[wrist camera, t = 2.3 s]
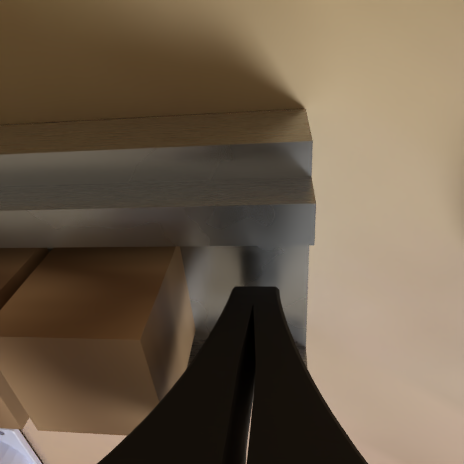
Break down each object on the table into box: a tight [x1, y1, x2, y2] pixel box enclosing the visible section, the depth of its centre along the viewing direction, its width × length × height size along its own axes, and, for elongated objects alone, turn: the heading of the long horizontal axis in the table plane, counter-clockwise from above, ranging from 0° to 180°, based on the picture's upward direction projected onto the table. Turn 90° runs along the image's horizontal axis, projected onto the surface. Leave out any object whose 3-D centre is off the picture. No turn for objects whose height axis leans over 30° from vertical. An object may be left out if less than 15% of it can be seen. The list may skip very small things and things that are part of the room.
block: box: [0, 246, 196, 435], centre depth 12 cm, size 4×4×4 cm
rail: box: [0, 109, 316, 396], centre depth 14 cm, size 14×10×4 cm
